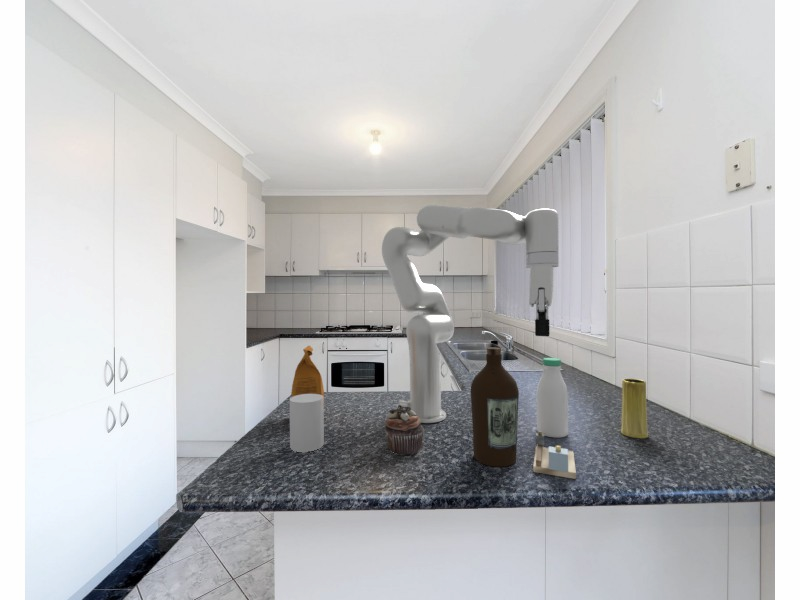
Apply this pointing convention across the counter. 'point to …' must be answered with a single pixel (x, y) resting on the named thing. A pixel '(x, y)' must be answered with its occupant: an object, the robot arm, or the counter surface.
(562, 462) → the blue block with knob
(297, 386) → the coffee package
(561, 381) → the milk bottle
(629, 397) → the vase
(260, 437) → the counter surface
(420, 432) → the cupcake
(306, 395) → the cup
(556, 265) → the robot arm
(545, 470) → the board
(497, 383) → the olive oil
